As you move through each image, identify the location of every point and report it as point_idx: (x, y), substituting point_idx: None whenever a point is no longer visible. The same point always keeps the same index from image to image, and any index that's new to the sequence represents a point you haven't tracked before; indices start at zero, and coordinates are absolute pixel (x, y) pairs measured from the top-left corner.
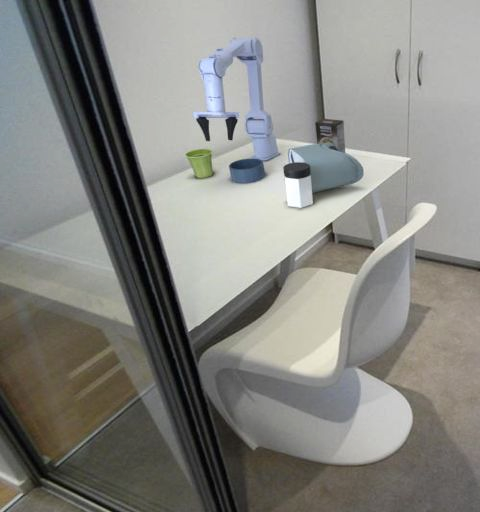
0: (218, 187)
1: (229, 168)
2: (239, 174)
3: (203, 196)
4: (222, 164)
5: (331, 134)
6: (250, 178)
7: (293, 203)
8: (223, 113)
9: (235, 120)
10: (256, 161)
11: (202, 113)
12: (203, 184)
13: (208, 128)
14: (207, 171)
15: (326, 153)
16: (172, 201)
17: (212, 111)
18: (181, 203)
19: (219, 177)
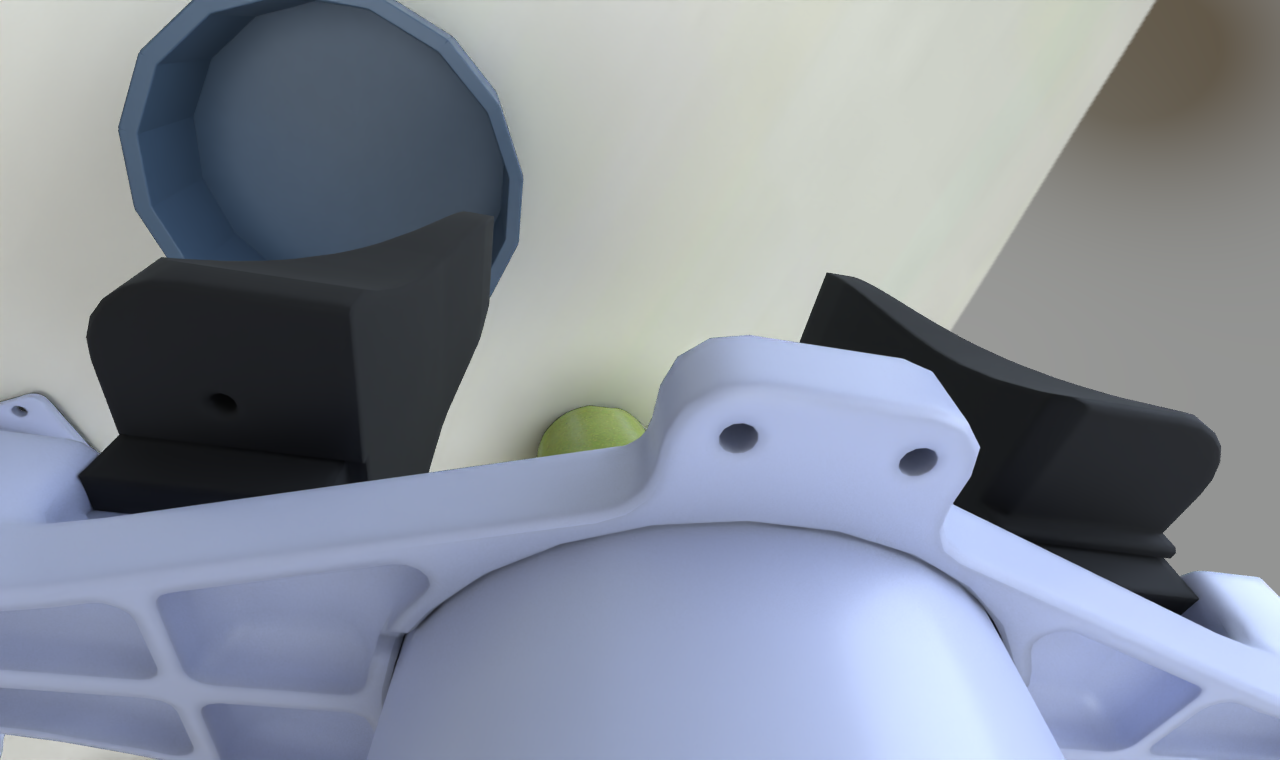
0: (660, 165)
1: (517, 237)
2: (489, 89)
3: (825, 94)
4: None
5: None
6: (406, 9)
7: None
8: (718, 359)
9: (217, 268)
10: (184, 231)
11: (1219, 650)
12: (688, 308)
13: (934, 347)
14: (600, 421)
15: None
16: (962, 195)
17: (1010, 645)
18: (966, 110)
19: (544, 344)
